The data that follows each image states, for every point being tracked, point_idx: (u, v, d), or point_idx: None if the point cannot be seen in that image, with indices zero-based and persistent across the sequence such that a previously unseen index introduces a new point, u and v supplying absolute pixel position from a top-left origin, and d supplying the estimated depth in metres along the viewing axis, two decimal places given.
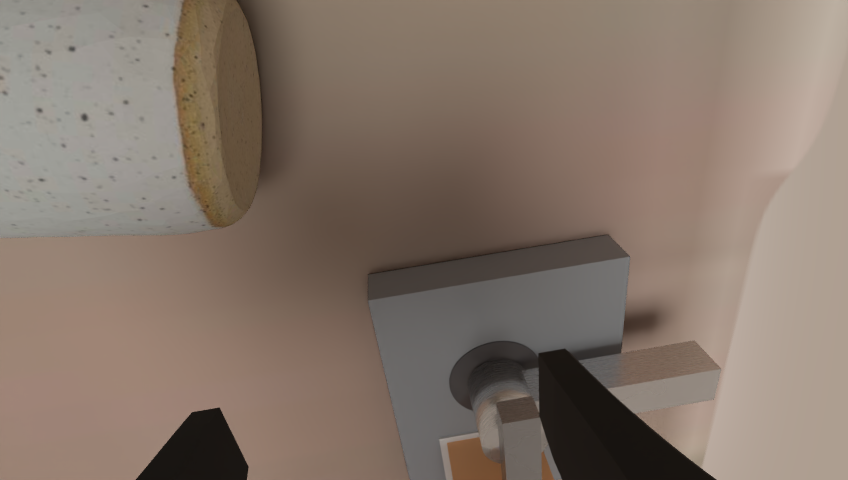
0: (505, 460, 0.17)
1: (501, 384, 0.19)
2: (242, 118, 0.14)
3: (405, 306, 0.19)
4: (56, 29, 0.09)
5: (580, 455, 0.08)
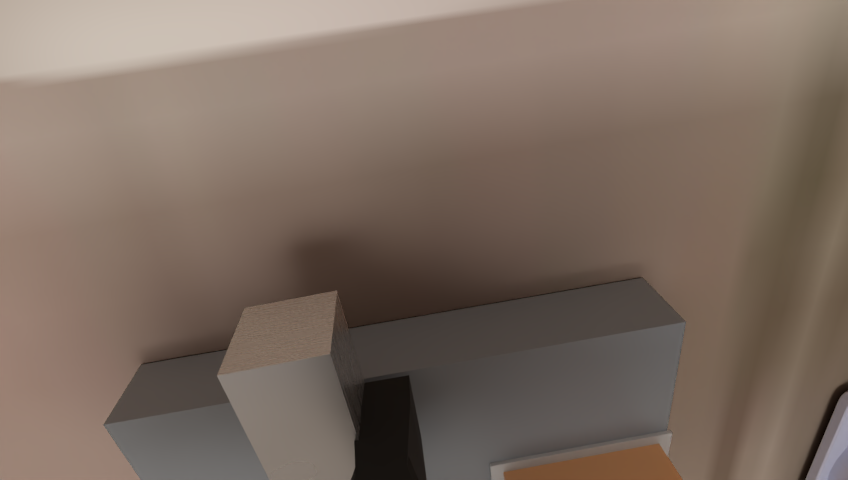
0: None
1: None
2: None
3: None
4: None
5: None
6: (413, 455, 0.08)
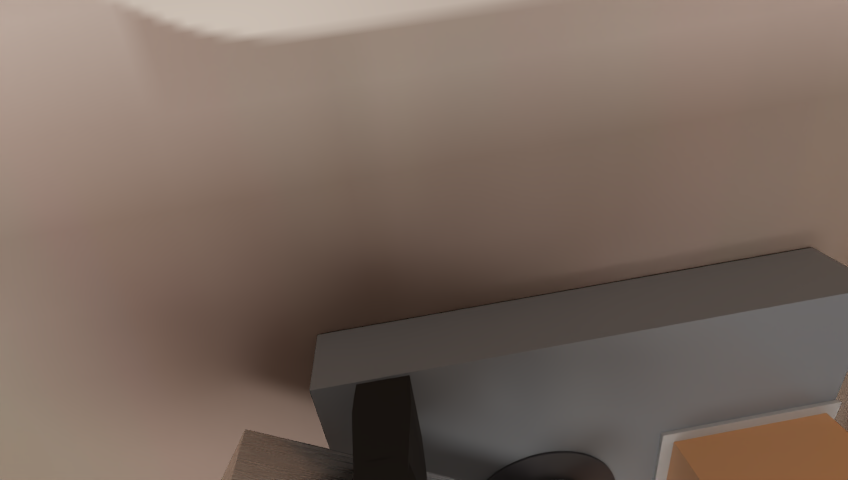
0: None
1: None
2: None
3: None
4: None
5: None
6: (414, 455, 0.08)
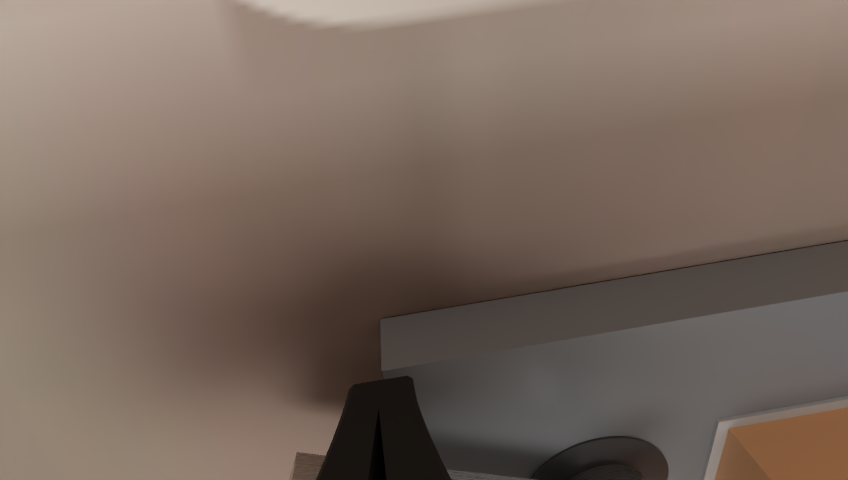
0: None
1: None
2: None
3: None
4: None
5: None
6: (379, 461, 0.08)
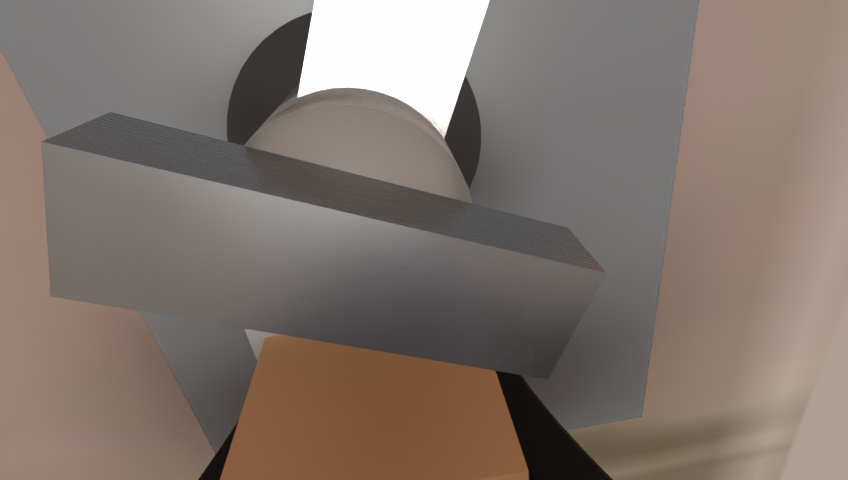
0: (298, 332, 0.04)
1: None
2: None
3: None
4: None
5: None
6: None
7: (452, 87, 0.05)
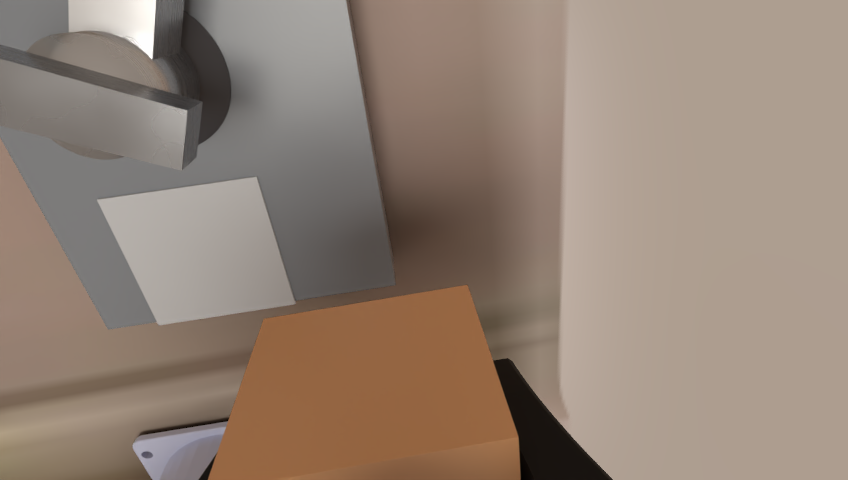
0: (48, 135, 0.10)
1: None
2: None
3: None
4: None
5: None
6: None
7: (149, 32, 0.11)
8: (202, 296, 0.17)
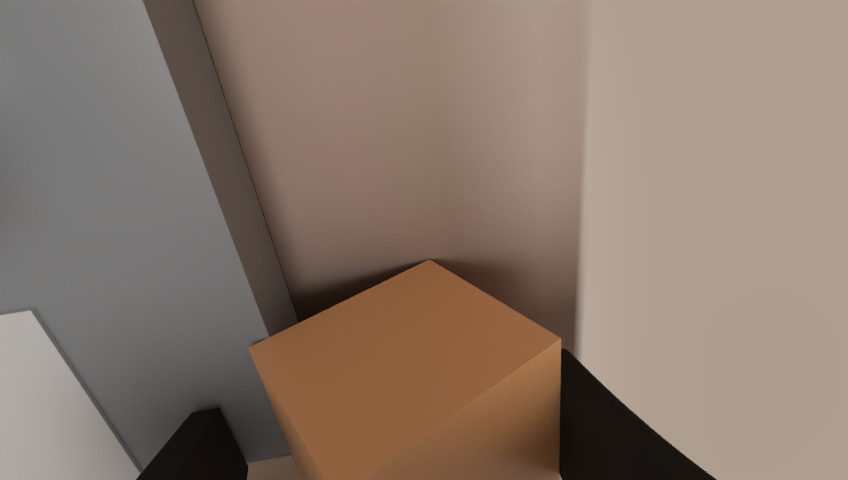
0: None
1: None
2: None
3: None
4: None
5: (580, 455, 0.08)
6: None
7: None
8: None
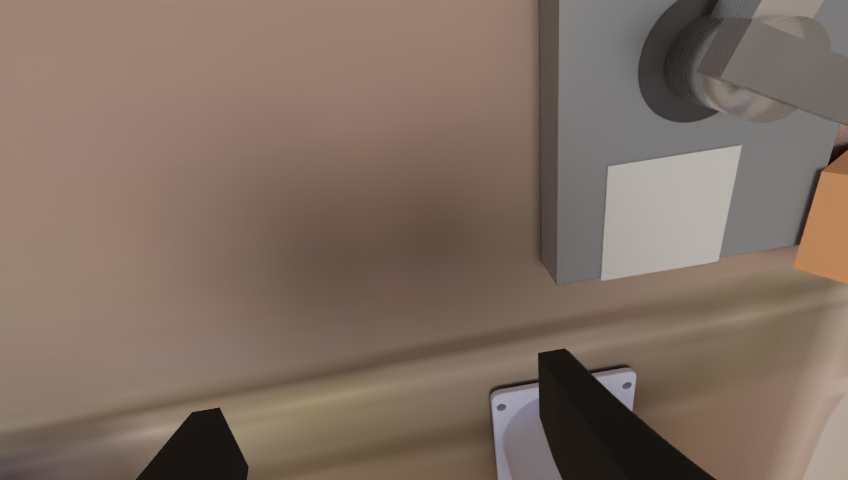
0: (783, 99, 0.12)
1: (697, 53, 0.14)
2: None
3: None
4: None
5: (580, 455, 0.08)
6: None
7: (811, 15, 0.13)
8: (645, 254, 0.19)
